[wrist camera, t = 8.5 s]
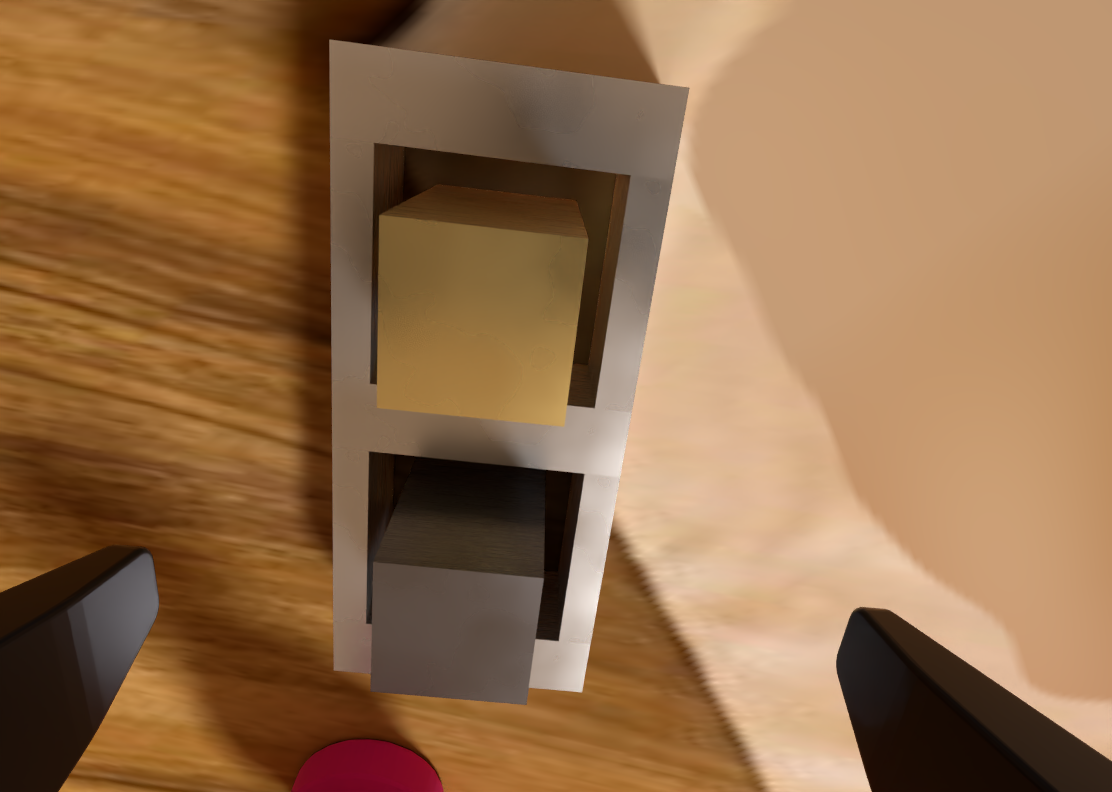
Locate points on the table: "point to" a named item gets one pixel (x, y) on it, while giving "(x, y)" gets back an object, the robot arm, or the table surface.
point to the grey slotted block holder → (474, 443)
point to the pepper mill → (366, 769)
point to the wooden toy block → (479, 304)
